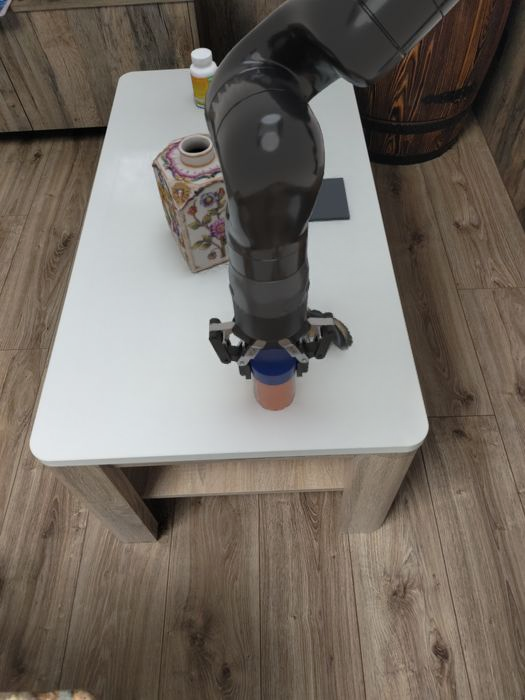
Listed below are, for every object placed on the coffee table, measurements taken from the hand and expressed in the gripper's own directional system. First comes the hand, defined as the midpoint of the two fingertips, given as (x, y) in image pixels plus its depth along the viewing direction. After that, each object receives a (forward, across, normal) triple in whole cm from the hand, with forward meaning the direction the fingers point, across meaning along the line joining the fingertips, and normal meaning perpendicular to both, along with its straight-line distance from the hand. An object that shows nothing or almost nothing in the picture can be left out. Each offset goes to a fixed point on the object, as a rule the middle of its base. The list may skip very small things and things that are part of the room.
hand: (273, 371), depth 62 cm
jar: (+6, 0, 0) cm, 6 cm away
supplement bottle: (+6, +11, -69) cm, 70 cm away
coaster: (+6, -9, -37) cm, 38 cm away
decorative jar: (+6, +9, -29) cm, 31 cm away
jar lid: (-3, 0, 0) cm, 3 cm away
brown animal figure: (+6, -7, -8) cm, 12 cm away
